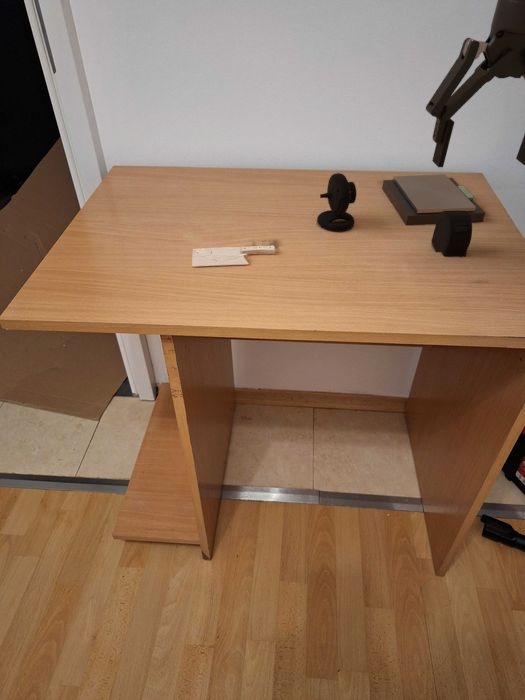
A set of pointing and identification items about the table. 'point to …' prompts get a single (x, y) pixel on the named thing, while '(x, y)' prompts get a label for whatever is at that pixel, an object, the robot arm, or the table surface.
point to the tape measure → (452, 233)
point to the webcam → (338, 203)
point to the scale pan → (433, 193)
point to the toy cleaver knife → (227, 255)
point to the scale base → (423, 218)
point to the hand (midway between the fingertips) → (480, 163)
